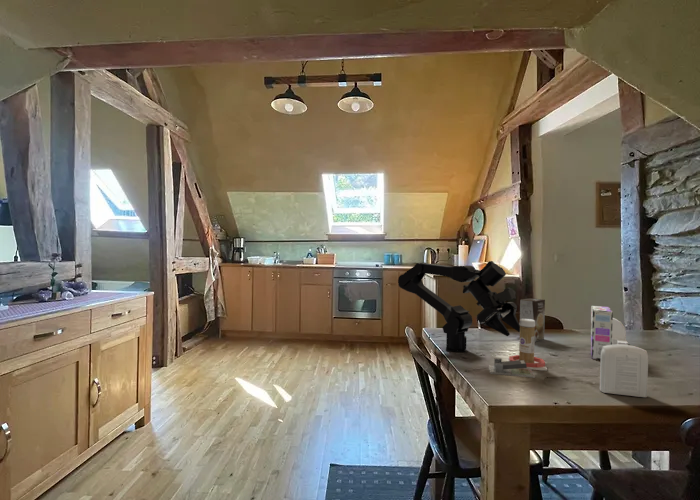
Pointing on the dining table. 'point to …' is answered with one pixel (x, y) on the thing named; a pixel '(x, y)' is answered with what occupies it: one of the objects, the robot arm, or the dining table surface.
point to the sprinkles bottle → (527, 340)
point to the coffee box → (534, 314)
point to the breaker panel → (509, 370)
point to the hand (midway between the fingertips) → (514, 333)
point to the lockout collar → (537, 365)
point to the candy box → (600, 329)
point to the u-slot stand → (618, 333)
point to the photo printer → (624, 370)
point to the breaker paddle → (514, 364)
